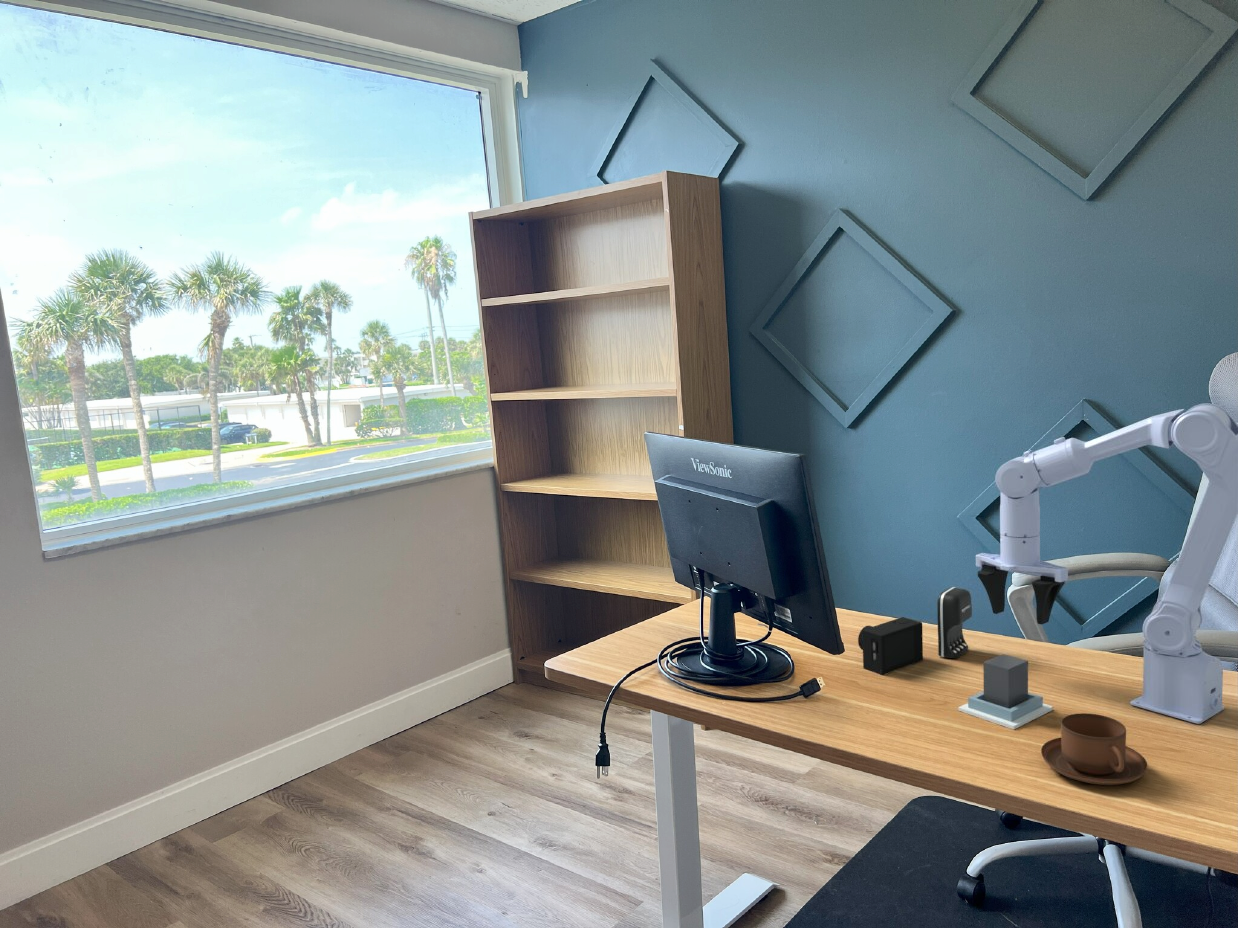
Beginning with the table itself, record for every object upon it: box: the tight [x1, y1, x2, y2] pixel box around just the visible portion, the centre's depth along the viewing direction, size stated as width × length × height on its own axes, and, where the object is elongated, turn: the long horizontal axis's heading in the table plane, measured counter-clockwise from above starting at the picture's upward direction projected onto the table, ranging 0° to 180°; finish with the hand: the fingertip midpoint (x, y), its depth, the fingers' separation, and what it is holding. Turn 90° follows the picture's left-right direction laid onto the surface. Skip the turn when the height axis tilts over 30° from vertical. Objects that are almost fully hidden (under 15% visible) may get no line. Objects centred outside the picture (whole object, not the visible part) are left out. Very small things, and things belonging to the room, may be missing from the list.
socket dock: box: [957, 690, 1054, 730], centre depth 135 cm, size 9×10×2 cm
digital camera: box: [857, 616, 924, 676], centre depth 156 cm, size 10×5×7 cm, turn 123°
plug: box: [982, 653, 1029, 709], centre depth 135 cm, size 4×5×7 cm
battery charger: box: [936, 586, 973, 659], centre depth 159 cm, size 7×4×11 cm, turn 137°
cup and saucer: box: [1040, 712, 1148, 786], centre depth 116 cm, size 12×12×6 cm
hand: (1020, 617), depth 145 cm, fingers open, 7 cm apart
